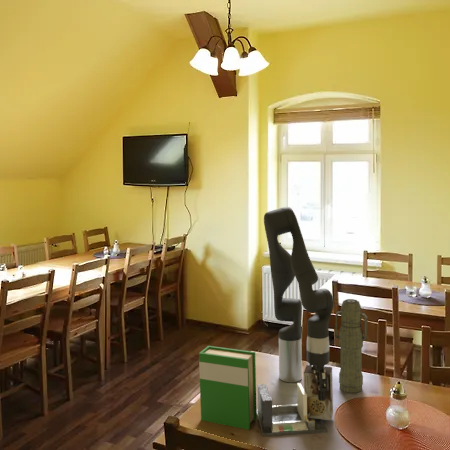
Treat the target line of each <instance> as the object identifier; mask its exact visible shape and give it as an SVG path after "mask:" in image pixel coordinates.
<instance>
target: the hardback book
mask: <svg viewBox="0 0 450 450" xmlns="http://www.w3.org/2000/svg"><path fill="white" fill-rule="evenodd" d="M198 363H199V364H198V365H199V367H198V369H199V370H198V371H199V396H200V421H203V422H204V421H205V422H209V423H213V424H218V425H224V426H227V427H234V428H239V429H243V430H250V429H251V423H252V422H253V421H257V420H258V417H257V413H256V409H257V377H256V375H257V373H256V367H257V366H256V351H253V350H251V351H250V350H245V349H244V350H243V349H238V348H237V349H235V348H228V347H221V346H213V345H207V346H206V347H205V348H204V349H202V350H201V351H199V353H198Z"/></svg>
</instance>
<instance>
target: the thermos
mask: <svg viewBox="0 0 450 450" xmlns="http://www.w3.org/2000/svg"><path fill="white" fill-rule="evenodd" d="M338 316H340V321H341V323H340V327H339V331H338ZM334 317H335V321H334V322H335V325H334V326H335V327H334V329H335V330H334V331H335V332H334V333H335V334H334V335H335V338H336V339H337V340H338V341H339V342H338V344H339V345H338V346H339V348H340V370H339V373H338V383H339V390H340V391H341V392H342V393H345V394H348V395H357V394H361V393H362V392H363V385H364V376H363V372H362V371H363V370H362V364H363V363H362V361H363V360H362V349H363V347H364V342H366V340H368V316H367V315H366V313H364V312H362V306H361V303H360V301H359V300H357V299H353V298H347V299H344V300H343V301H342V303H341V306H340V311H339V310H338V311H337V312H336V313H335V315H334ZM362 318H363V319H364V321H363V322H364V324H363V325H364V327H363V328H364V331H363V329H362ZM338 333H339V334H338Z"/></svg>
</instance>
